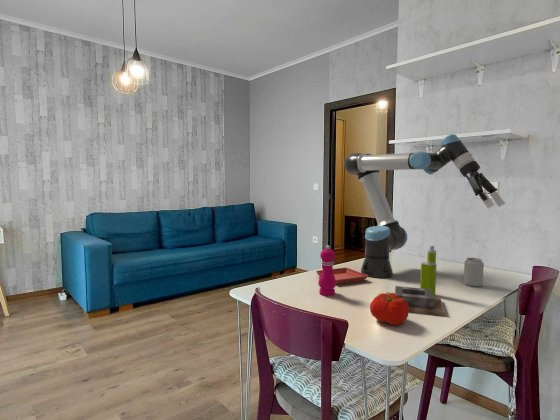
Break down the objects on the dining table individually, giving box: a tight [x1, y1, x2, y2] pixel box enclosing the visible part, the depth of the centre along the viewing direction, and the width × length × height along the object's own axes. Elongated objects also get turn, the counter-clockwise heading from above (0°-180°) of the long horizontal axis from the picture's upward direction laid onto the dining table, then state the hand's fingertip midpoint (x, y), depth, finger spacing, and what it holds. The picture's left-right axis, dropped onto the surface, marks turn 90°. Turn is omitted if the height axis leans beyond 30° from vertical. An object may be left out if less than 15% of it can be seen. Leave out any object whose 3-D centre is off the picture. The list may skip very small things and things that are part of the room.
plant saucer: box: [315, 267, 368, 286], centre depth 169 cm, size 18×18×3 cm
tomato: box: [369, 292, 410, 326], centre depth 118 cm, size 13×12×8 cm
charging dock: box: [385, 285, 446, 317], centre depth 133 cm, size 20×16×5 cm
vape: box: [419, 245, 437, 297], centre depth 146 cm, size 4×6×20 cm, turn 44°
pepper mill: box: [317, 244, 337, 297], centre depth 146 cm, size 7×7×20 cm
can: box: [463, 257, 485, 288], centre depth 160 cm, size 8×8×12 cm
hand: (496, 206), depth 149 cm, fingers open, 13 cm apart
